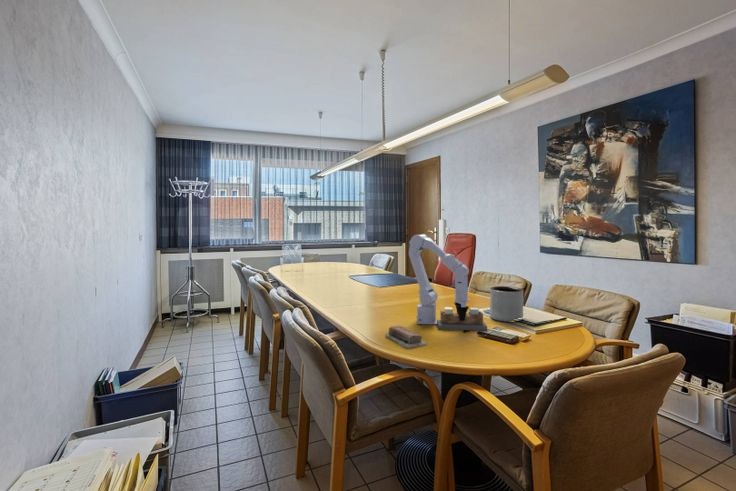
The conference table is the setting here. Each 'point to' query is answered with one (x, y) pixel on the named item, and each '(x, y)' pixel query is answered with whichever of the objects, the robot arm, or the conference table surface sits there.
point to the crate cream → (448, 310)
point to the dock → (460, 326)
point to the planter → (506, 303)
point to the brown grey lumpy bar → (468, 320)
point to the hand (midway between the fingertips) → (461, 318)
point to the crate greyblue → (474, 311)
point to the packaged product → (405, 337)
